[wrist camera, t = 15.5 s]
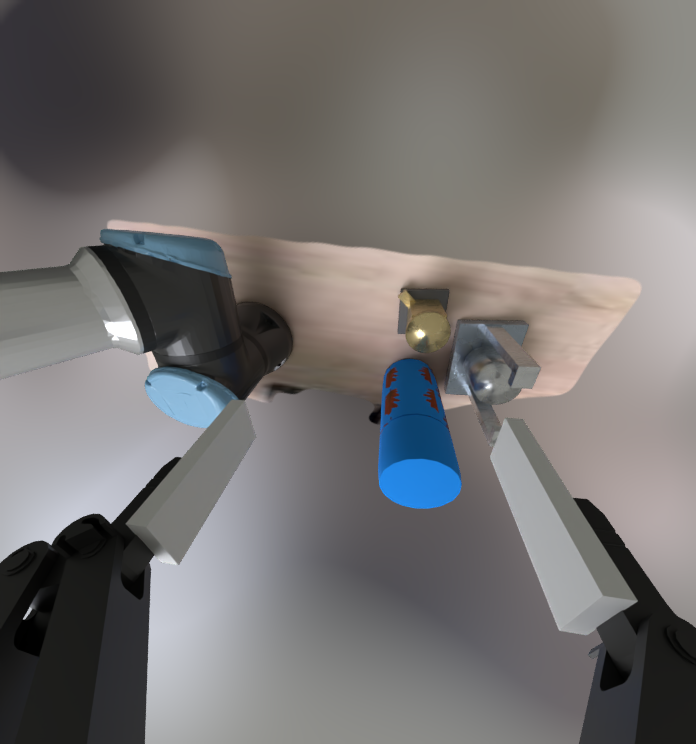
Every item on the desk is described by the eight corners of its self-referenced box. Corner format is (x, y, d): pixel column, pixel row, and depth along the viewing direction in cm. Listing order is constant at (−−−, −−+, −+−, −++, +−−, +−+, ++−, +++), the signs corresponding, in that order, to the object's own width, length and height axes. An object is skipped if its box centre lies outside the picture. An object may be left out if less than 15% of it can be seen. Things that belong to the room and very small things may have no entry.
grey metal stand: (444, 388, 54) (460, 445, 41) (457, 319, 46) (484, 363, 33) (499, 391, 53) (535, 451, 39) (523, 320, 45) (579, 366, 31)
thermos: (387, 402, 58) (384, 509, 37) (378, 362, 53) (370, 460, 32) (437, 397, 56) (464, 509, 35) (433, 354, 50) (462, 455, 30)
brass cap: (457, 321, 45) (470, 343, 38) (425, 345, 49) (431, 370, 41) (418, 276, 42) (423, 290, 35) (386, 305, 46) (385, 324, 38)
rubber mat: (397, 331, 49) (397, 333, 48) (400, 289, 45) (400, 290, 44) (441, 332, 48) (441, 334, 47) (448, 289, 44) (449, 290, 43)
